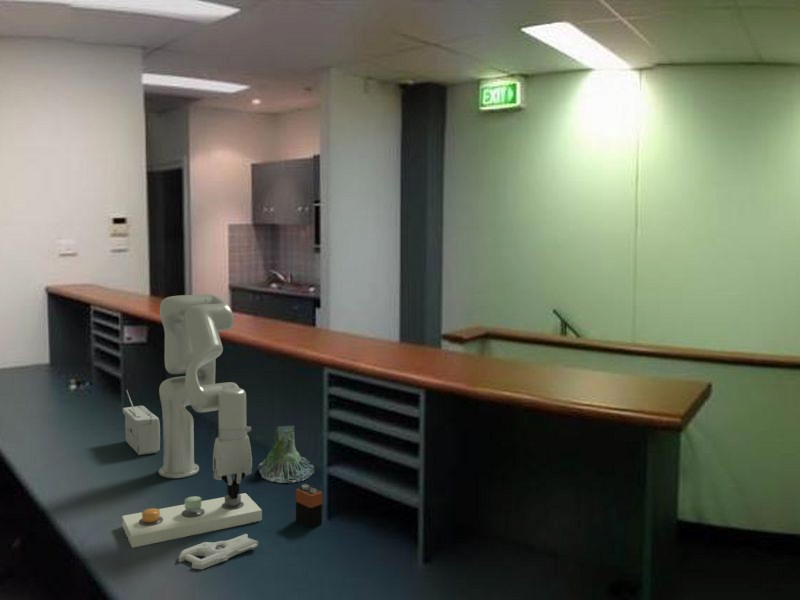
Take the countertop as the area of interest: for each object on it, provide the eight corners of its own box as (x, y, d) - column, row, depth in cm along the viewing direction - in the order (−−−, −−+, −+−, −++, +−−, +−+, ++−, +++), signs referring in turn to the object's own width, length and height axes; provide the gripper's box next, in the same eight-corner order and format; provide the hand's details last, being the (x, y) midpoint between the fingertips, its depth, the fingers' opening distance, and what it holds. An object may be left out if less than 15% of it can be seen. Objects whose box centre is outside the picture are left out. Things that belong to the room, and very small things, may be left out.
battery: (307, 516, 194) (307, 481, 193) (322, 523, 189) (323, 488, 188) (294, 520, 191) (295, 485, 190) (310, 528, 186) (310, 492, 185)
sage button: (182, 505, 188) (182, 498, 188) (199, 502, 190) (199, 495, 190) (186, 511, 184) (186, 503, 184) (203, 507, 186) (203, 500, 186)
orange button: (140, 517, 182) (140, 510, 182) (157, 514, 185) (157, 507, 184) (143, 523, 179) (143, 516, 178) (161, 520, 181) (161, 513, 181)
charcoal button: (222, 502, 194) (222, 495, 193) (238, 499, 196) (238, 492, 196) (227, 507, 190) (227, 500, 190) (242, 504, 192) (242, 497, 192)
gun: (239, 525, 180) (260, 538, 172) (240, 537, 180) (260, 551, 173) (173, 549, 167) (192, 565, 160) (174, 562, 168) (193, 579, 161)
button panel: (122, 526, 185) (122, 515, 185) (245, 502, 202) (245, 492, 202) (132, 547, 173) (131, 535, 173) (261, 520, 190) (261, 509, 190)
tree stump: (258, 487, 216) (255, 429, 218) (258, 480, 235) (255, 427, 237) (317, 481, 220) (313, 424, 222) (311, 474, 239) (308, 422, 241)
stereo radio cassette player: (161, 453, 245) (160, 398, 242) (137, 457, 240) (135, 401, 238) (145, 438, 262) (144, 386, 260) (122, 441, 257) (121, 389, 255)
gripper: (254, 426, 198) (254, 487, 200) (201, 433, 190) (202, 497, 192) (263, 432, 191) (263, 496, 193) (209, 440, 184) (210, 506, 185)
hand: (233, 496), depth 192 cm, fingers closed
